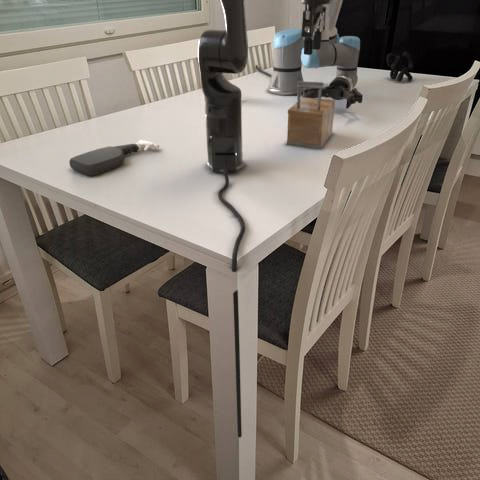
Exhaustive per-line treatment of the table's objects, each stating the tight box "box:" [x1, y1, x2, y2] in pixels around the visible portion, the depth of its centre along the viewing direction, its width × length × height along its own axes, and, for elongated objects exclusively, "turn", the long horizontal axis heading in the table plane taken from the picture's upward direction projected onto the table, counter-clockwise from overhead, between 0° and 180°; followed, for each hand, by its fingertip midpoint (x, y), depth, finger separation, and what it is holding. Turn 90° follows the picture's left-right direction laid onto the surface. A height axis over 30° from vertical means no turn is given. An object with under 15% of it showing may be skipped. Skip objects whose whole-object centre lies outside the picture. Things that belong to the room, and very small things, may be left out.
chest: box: [286, 104, 335, 150], centre depth 134 cm, size 14×10×9 cm
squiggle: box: [385, 51, 414, 83], centre depth 198 cm, size 11×10×15 cm
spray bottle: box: [68, 139, 160, 177], centre depth 124 cm, size 3×11×24 cm
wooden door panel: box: [287, 80, 336, 117], centre depth 129 cm, size 15×10×8 cm
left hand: (312, 51), depth 120 cm, fingers open, 8 cm apart
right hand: (326, 102), depth 145 cm, fingers open, 13 cm apart
